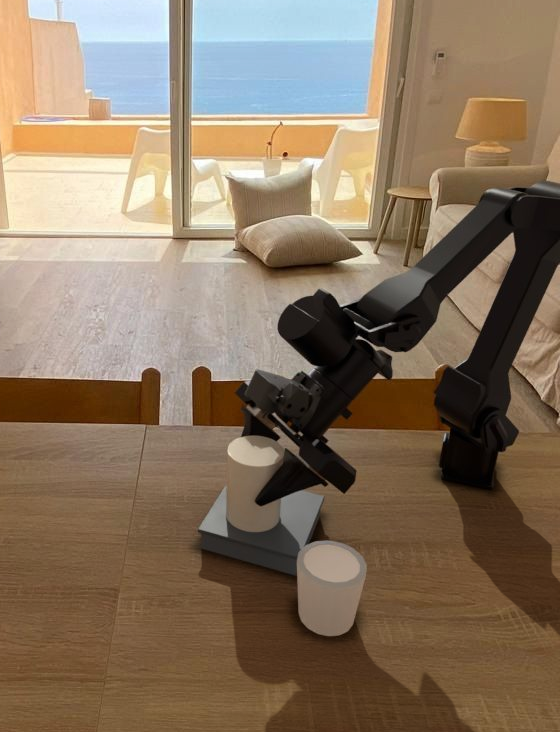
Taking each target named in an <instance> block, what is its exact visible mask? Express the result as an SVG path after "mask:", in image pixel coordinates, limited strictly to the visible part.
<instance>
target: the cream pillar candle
mask: <svg viewBox="0 0 560 732" xmlns="http://www.w3.org/2000/svg"><path fill="white" fill-rule="evenodd" d="M284 451H285V448H284V447H283V446H282V444H280V443H279V442H278V441H275V440H273V439H270V438H267V437H263V436H244V437H241V436H240V437H238V438H236V439H233V440H232V441H230V443H229V444H228V445H227V452H226V484H227V486H226V485H225V486H226V517H227V520H228V521H229V522H230V523H231V524H232V525H233V526H234V527H236V528H238V529H240V530H243V531H247V532H263V531H267V530H270V529H272V528H273V527H275V526H276V525H277V524H278V522H279V520H280V510H281V499H278V500H276V501H273V502H271V503H269V504H266V505H264V506H259V505H257V504H256V503H255V499H256V497H257V496H258V494H259V493H260V491H261V490H262V489H263V488H264V486H265V485H266V484H267V483H268V481H269V480H270V479H271V478H272V477H273V475H274V474H275V473H276V472H277V470H278V469H279V468H280V467H281V465H282V464H283V458H284Z"/></svg>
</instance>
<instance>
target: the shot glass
mask: <svg viewBox="0 0 560 732" xmlns="http://www.w3.org/2000/svg"><path fill="white" fill-rule="evenodd" d="M367 566H368V565H367V563H366V560H365V559H364V557H363V556H362V554H360V553H359V551H357V550H356V549H355V548H354V547H351V546H349V545H347V544H345V543H342V542H340V541H339V542H338V541H334V540H316V541H313V542H311V543H310V542H309V544H308V545H305V546H304V547H303V548H302V549H301V550H300V551H299V553H298V558H297V575H296V577H297V578H296V579H297V581H296V582H297V603H298V604H297V607H298V616H299V620H300V622H301V623H302V624H303V625H304V626H305V628H307V629H308V630H310V631H312V632H313V633H315V634H317V635H320V636H325V637H337V636H341V635H343V634H345V633H348V632H349V631H350V629H351V628H352V627H353V625H354V622H355V619H356V614H357V611H358V607H359V605H360V604H359V603H360V600H361V595H362V592H363V588H364V584H365V581H366V577H367V569H368V567H367Z"/></svg>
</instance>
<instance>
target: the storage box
mask: <svg viewBox="0 0 560 732" xmlns="http://www.w3.org/2000/svg"><path fill="white" fill-rule="evenodd" d="M226 486H227V483H225V485H224V487H223V489H222V490H221V492H220V494H219V495H218V497H217V498H216V500H215V501H214V503H213V505H212V506H211V508H210V509H209V510H208V512H207V514H206V516H205V517H204V519H203V520H202V522H201V523H200V525H199V527H198V528H197V533H198V534H201V535H200V549H201V550H204V551H208V552H212V553H216V554H219V555H223V556H226V557H229V558H232V559H236V560H239V561H244V562H247V563H250V564H253V565H257V566H260V567H264V568H267V569H271V570H275V571H277V572H281V573H284V574H288V575H292V576H295V577H297V558H298V553H299V551H300V550H301V549H302V548H303V547H304V546H305V545H308V544H310V542H311V539H312V537H313V535H314V532H315V530H316V528H317V525H318V522H319V519H320V517H321V510H322V509H321V508H322V506H323V503H324V501H325V498H326V497H325V495H322V494H317V493H314V492H309V491H305V490H301V491H298V492H295V493H293V494H290V495H288V496H285V497H283V498H281V510H280V520H279V522H278V524H277V525H276V526H275V527H273V528H272V529H270V530H267V531H263V532H247V531H243V530H240V529H238V528H236V527H234V526H233V525H232V524H231V523H230V522H229V521H228V520H227V517H226Z"/></svg>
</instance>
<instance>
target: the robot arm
mask: <svg viewBox="0 0 560 732" xmlns="http://www.w3.org/2000/svg"><path fill="white" fill-rule="evenodd" d="M511 234H512V235H513V236H512V237H513V242H514V252H513V255H512V258H511V260H510V262H509V265H508V267H507V269H506V272H505V274H504V276H503V279H502V281H501V283H500V286H499V287H498V289H497V292H496V294H495V296H494V299H493V301H492V303H491V305H490V308H489V310H488V313H487V315H486V317H485V320H484V322H483V324H482V327H481V329H480V330H479V333H478V335H477V338H476V339H475V342H474V344H473V347H472V348H471V350H470V351H471V352H470V353H469V356H468V358H467V359H465V360H464V361H463V362H460V363H459V364H458V365H457V366H455V367H452V366H450V365H448V366H447V367H446V368H445V369H444V370H443V371H442V375H441V379H440V381H439V383H438V385H437V386H436V388H435V389H434V390H433V394H435V397H434V400H433V406H434V408H435V410H436V413H437V415H438V419H439V420H438V421H439V423H441V424H442V425H445V426H447V428H449V432H445V433H443V434H444V435H443V439H442V445H441V450H440V456H439V463H438V467H439V468H440V469H441V472H440V478H441V479H442V480H444V481H445V480H446V481H448V482H449V481H450V482H454V483H458V484H463V485H466V486H467V485H468V486H473V487H477V488H482V489H487V490H493V488H494V483H495V481H494V480H495V471H496V466H497V463H498V462H497V461H498V456H499V453H504V452H506V451H507V448H508V447H512V446H513V445H514V444H515V441H516V439H517V438H518V436H519V434H520V430H519V428H518V427H516V425H515V424H514V423H513V421H512V420H510V418H509V417H508V416H507V413H508V410H509V407H510V405H511V404H510V403H511V400H512V391H511V384H510V375H509V373H510V370H511V368H512V366H513V364H514V362H515V359H516V358H517V356H518V353H519V350H520V348H521V346H522V344H523V343H524V339H525V338H526V335H527V333H528V332H529V329H530V327H531V325H532V322H533V320H534V318H535V316H536V315H537V312H538V310H539V307H540V305H541V303H542V301H543V299H544V297H545V294H546V292H547V291H548V288H549V286H550V283H551V281H552V279H553V277H554V275H555V272H556V271H557V268H558V267H559V265H560V182H557V181H556V182H555V181H551V180H545V179H544V180H540V181H537V182H536V183H534V184H532V185H529V186H509V187H500V186H496V187H491V188H488V189H487V190H486V191H484V192H483V193H482V195H481V196H480V198H479V201H478V204H476V206H474V207H473V208H472V210H470V212H468V213H467V214H466V215H465V216H464V217H463V218H462V219H461V220H460V221H459V222H458V223H457V224H455V226H454V227H453V228H452V229H450V231H448V232H447V234H446V235H444V236H443V237H442V238H441V239H440V240H439V241H438V242H437V243H436V244H435V245H434V246H433V247H432V248H430V250H429V251H428V252H427V253H426V254H424V256H423V257H422V258H421V259H420V260H419V261H417V262H416V264H415V265H413V266H412V267H411V268H410V269H408V270H406V271H405V272H402V273H400V274H396V275H393V276H390V277H388V278H385V279H384V280H382V281H381V282H380V283H378V284H377V285H376V286H374V287H372V289H369V291H367V292H366V293H365V294H364V295H362V297H361V298H358V299H353V300H351V301H349V302H346V303H345V302H344V303H343V304H339V302H338V300H337V299H336V297H335V296H334V295H333V294H332V293H331V292H329V291H327V290H325V289H324V288H321V287H319V288H318V289H317V290H316V291H315V292H314V293H313V295H306V296H303V297H300V298H298V299H297V300H294V301H293V302H292V303H289V304H288V305H287V306H286V307H285V308H284V309H283V311H282V312H281V314H280V316H279V318H278V321H277V333H278V335H279V336H280V337H281V339H283V340H284V341H285V342H286V343H287V344H288V345H289V346H291V348H293V349H294V350H295V351H296V352H297V353H298V354H299V355H300V356H301V357H302V358H304V360H306V361H307V362H308V363H309V365H312V366H314V368H313V369H312V370H311V371H310V372H309V374H307V373H306V372H305V371H303V370H301V371H298V372H297V373H296V374H295V375H294V376H293V377H292V378H291V379H290V378H287V377H285V376H282V375H280V374H276V373H274V372H273V373H272V372H269V371H266V370H263V369H259V368H256V369H255V370H254V372H253V375H252V376H251V379H250V380H246V381H243V382H242V384H241V385H240V386H239V387H238V388H237V389H236V390H235V392H234V394H235V395H236V396H237V397H238V398H239V399H240V400H241V401H242V402H243V403H245V404H246V405H247V406H245V405H243V404H241V405H240V410H241V411H242V413H243V422H244V424H243V430H242V432H241V435H240V437H244V436H263V437H267V438H270V439H273V440H275V441H276V442H278V441H279V440H280V439H281V438H282V437H281V436H280V435H279V434H278V433H277V432H276V431H275V430H274V428H275V427H277V428H278V429H279V430H280V431H281V432H282V433H283V434H284V435H285V436H286V437H287V438H288V439H289V440H290V441H291V442H293V444H295V445H296V447H297V448H298V449H299V450H298V452H297V454H296V455H295V454H294V453H293V452H292V451H291V450H289V449H288V448H287V447H285V448H284V458H283V464H282V465H281V467H280V468H279V469H278V470H277V472H276V473H275V474H274V475H273V477H272V478H271V479H270V480H269V481H268V483H267V484H266V485H265V486H264V488H263V489H262V490H261V491H260V493H259V494H258V496H257V497H256V499H255V503H256V504H257V505H259V506H264V505H266V504H269V503H271V502H273V501H276V500H278V499H281V498H283V497H285V496H288V495H290V494H293V493H295V492H298V491H305V490H307V489H310V488H313V487H317V486H319V485H322V486H323V487H324V488H326V487H328V486H329V484H331V485H332V486H333V487H334V488H336V489H337V490H338V491H340V492H341V493H342V494H344V495H345V494H346V493H347V492H348V491H349V490H350V488H352V487H353V485H354V484H355V482H356V479H357V469H356V468H354V467H353V466H352V465H351V464H350V462H348V461H347V460H346V459H345V458H343V457H342V456H341V455H340V454H339V453H338V452H337V451H336V450H334V449H333V448H332V447H330V446H329V445H328V442H329V441H330V440H329V439H328V438H327V437H325V436H324V435H325V434H326V433H327V432H328V431H329V430H330V429H331V427H332V426H333V425H334V424H335V423H336V422H337V420H338V419H339V418H340V417H342V418H344V420H346V421H348V420H349V418H350V417H351V416H352V415H353V412H352V411H351V410H350V409H348V408H349V407H350V405H351V404H352V403H353V402H354V401H355V400H356V399H357V398H358V396H359V395H360V394H361V393H362V392H363V390H364V389H365V388H366V387H367V386H368V385H369V384H370V383H371V382H372V380H373V379H374V378H375V377H376V376H377V375H380V376H382V378H384V379H386V380H388V381H390V380H392V379H393V376H394V375H393V373H394V371H393V366H392V365H393V364H392V363H393V356H392V355H391V354H390V353H387V352H386V351H384V350H383V349H378V350H376V349H375V348H374V346H375V347H376V348H384V349H387V350H388V351H390V352H393V353H408V352H410V351H411V350H412V349H414V348H415V347H417V345H419V343H421V341H422V340H423V339H424V337H425V336H426V335H427V333H428V332H429V331H430V330H431V329H432V328H433V326H434V325H435V324H436V322H437V319H438V316H439V313H440V308H441V304H442V303H443V301H444V300H445V299H446V298H447V296H448V295H450V294H451V293H452V291H453V290H455V289H456V288H457V287H458V286H459V285H460V284H461V283H462V282H463V281H464V280H465V279H466V278H467V277H468V276H469V275H470V274H471V273H472V272H473V271H475V270H476V268H478V267H479V266H480V264H482V262H484V261H485V260H486V259H487V258H488V257H489V256H490V255H491V254H492V253H493V252H494V251H495V250H496V249H497V248H498V247H499V246H500V245H501V244H502V243H503V242H504V241H505V240H506V239H507V238H508V237H510V235H511ZM358 337H360V338H358ZM361 338H362V339H361ZM372 345H373V346H372ZM289 422H290V423H291V424H290V425H289V424H288V423H289ZM300 433H301V434H302V435H301V434H300Z"/></svg>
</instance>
